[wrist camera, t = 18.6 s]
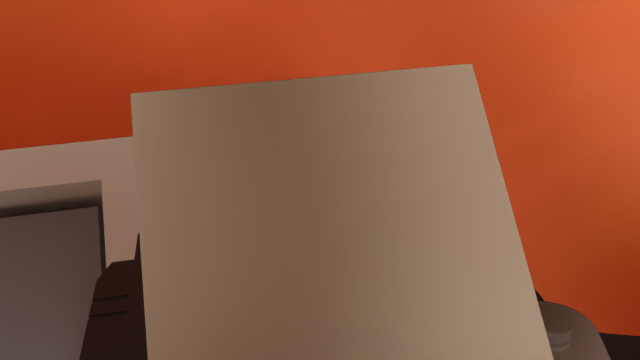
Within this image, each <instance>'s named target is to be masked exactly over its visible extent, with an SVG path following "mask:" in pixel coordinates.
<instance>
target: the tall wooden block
mask: <svg viewBox="0 0 640 360" xmlns="http://www.w3.org/2000/svg"><path fill="white" fill-rule="evenodd" d="M130 98H131V114H132V129H133V144H134V159H135V174H136V189H137V204H138V219H139V234H140V250H141V265H142V280H143V295H144V310H145V325H146V340H147V355H148V360H554V359H553V355H552V351H551V348H550V344H549V341H548V337H547V333H546V330H545V326H544V323H543V319H542V315H541V312H540V308H539V304H538V301H537V297H536V294H535V290H534V286H533V283H532V279H531V275H530V272H529V268H528V265H527V261H526V257H525V254H524V250H523V247H522V243H521V239H520V236H519V232H518V228H517V225H516V221H515V218H514V214H513V210H512V207H511V203H510V200H509V196H508V192H507V189H506V185H505V181H504V178H503V174H502V171H501V167H500V163H499V160H498V156H497V153H496V149H495V145H494V142H493V138H492V134H491V131H490V127H489V124H488V120H487V116H486V113H485V109H484V106H483V102H482V98H481V95H480V91H479V87H478V84H477V80H476V77H475V73H474V69H473V66H472V64H461V65H449V66H438V67H426V68H415V69H404V70H392V71H381V72H369V73H358V74H346V75H335V76H324V77H312V78H301V79H289V80H278V81H267V82H255V83H244V84H232V85H221V86H209V87H198V88H187V89H175V90H164V91H152V92H141V93H130Z"/></svg>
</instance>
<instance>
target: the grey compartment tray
mask: <svg viewBox="0 0 640 360" xmlns="http://www.w3.org/2000/svg"><path fill="white" fill-rule="evenodd" d="M97 206H98V207H99V209H100V210H101V211H102V212H103V219H104V236H105V253H106V269H107V267H108V266H109V265H110V264H111V263H112V262H118V261H126V260H133V259H134V258H135V251H136V243H137V236H138V233H139V219H138V204H137V189H136V174H135V159H134V144H133V136H131V137H122V138H112V139H103V140H93V141H84V142H74V143H65V144H55V145H46V146H36V147H27V148H17V149H8V150H0V218H6V217H15V216H23V215H31V214H39V213H47V212H56V211H64V210H72V209H80V208H89V207H97Z"/></svg>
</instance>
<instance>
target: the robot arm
mask: <svg viewBox="0 0 640 360" xmlns="http://www.w3.org/2000/svg"><path fill="white" fill-rule="evenodd" d="M534 290H535V289H534ZM535 294H536V297H537V301H538V304H539V308H540V312H541V315H542V319H543V323H544V326H545V330H546V333H547V337H548V341H549V344H550V348H551V351H552V355H553V359H554V360H640V336H629V335H617V334H606V333H600V332H598V330H597V329H596V327H595V326H594V324H593V323H592V322H591V321H590V320H589V319H588V318H587V317H585V316H584V315H582V314H581V313H579V312H578V311H576V310H574V309H572V308H569V307H567V306H564V305H561V304H557V303H552V302H545V301H544V300H543V298H542V297H541V296H540V295H539V294H538V292H537V291H536V290H535ZM79 360H148V355H147V340H146V325H145V310H144V295H143V280H142V265H141V250H140V234H139V233H138V236H137V243H136V251H135V258H134V259H133V260H126V261H118V262H112V263H111V264H110V265H109V266H108V267H107V269H106V270H105V271H104V272H103V273H102V275H101V276H100V277H99V278H98V279H97V280H96V285H95V289H94V294H93V298H92V304H91V308H90V312H89V320H88V321H87V326H86V330H85V335H84V339H83V344H82V349H81V353H80V358H79Z"/></svg>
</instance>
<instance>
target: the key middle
mask: <svg viewBox="0 0 640 360" xmlns="http://www.w3.org/2000/svg"><path fill="white" fill-rule="evenodd" d="M105 270H106V253H105V236H104V219H103V212H102V211H101V210H100V209H99V207H98V206H97V207H89V208H80V209H72V210H64V211H56V212H47V213H39V214H31V215H23V216H15V217H6V218H0V360H79V358H80V353H81V349H82V344H83V339H84V335H85V330H86V326H87V321H88V320H89V312H90V308H91V304H92V298H93V294H94V289H95V285H96V280H97V279H98V278H99V277H100V276H101V275H102V273H103V272H104V271H105Z"/></svg>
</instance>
